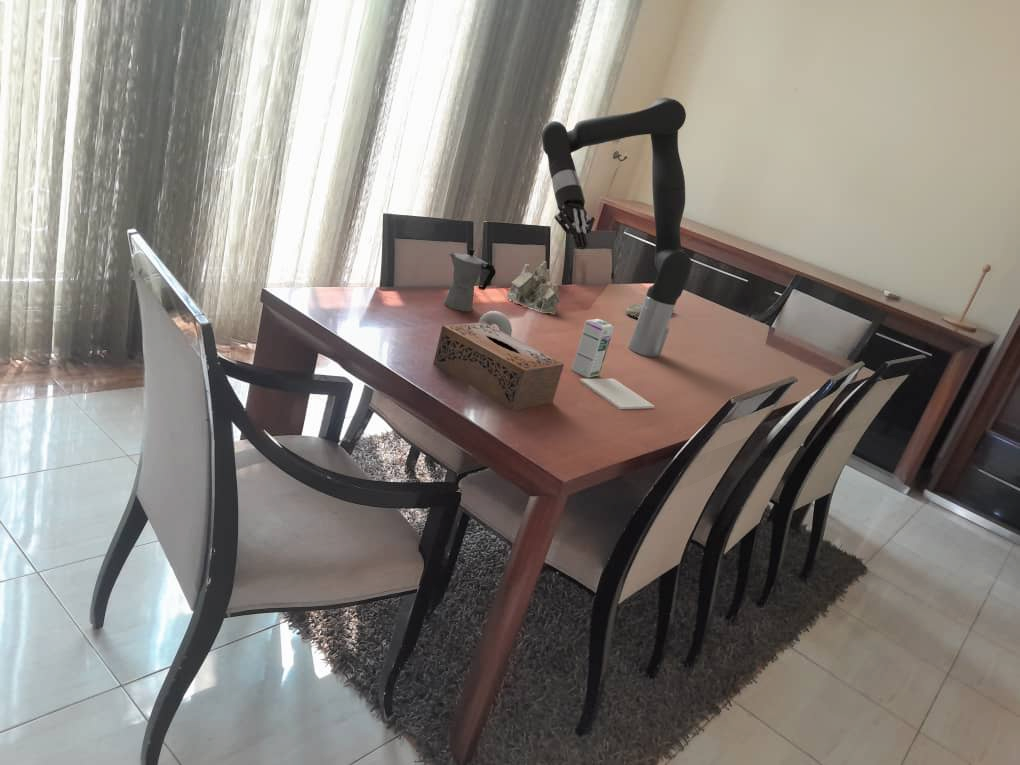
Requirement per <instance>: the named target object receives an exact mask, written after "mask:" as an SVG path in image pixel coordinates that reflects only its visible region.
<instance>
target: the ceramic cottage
mask: <svg viewBox="0 0 1020 765" xmlns="http://www.w3.org/2000/svg"><path fill="white" fill-rule="evenodd" d="M547 268H548V267H547V261H545V260H543V262H542V263H541V264H540V265H539V266H537V267H536V269H535V270H534V272H533V274H532V273H531V272H530V269H531V265H530V264H527V263H525V264H524V266H523V268H522V271H521V272H520V274H519V275H518V276H517V277H516V278H515V279H514V280H513V281H511V282H510V283H511V284H512V285H511V286H510V289H509V290H508V292H506V295H507V297H508V298H509V299H511V300H512V301H515V302H517V303H520V304H523V305H525V306H528V307H530V308H533V309H536V310H539V311H542V312H552V313H556V314H557V310H556V309H557V306H558V304H559V303H560V302H561V301H560V296H559V286H558V285H557V283H552V282H551V275H550V274H551V273H550V269H547Z"/></svg>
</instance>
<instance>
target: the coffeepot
mask: <svg viewBox="0 0 1020 765" xmlns="http://www.w3.org/2000/svg"><path fill="white" fill-rule="evenodd" d="M468 251H469V254H463V253H456V252H452V253H451V252H450V253H449V254H448V255H449V256H450V257H451V261H452V265H453V274H452V278H453V279H452V283H451V285H450V288H449V290H448V291H447V292H448V293H447V294H446V297H445V300H444V303H443V304H444V305H445V306H446V307H447V306H448V308H449V307H450V309H452V310H455V311H458V310H460V311H459V312H464V311H469V312H472V311H473V304H474V294H475V286H476V284H477V281H478V279H479V277H480V275H481V272H482V270H488V271H489V273H488V275H487V277H486V279H485V280H484V281H483V284H482V285H478V287H477V288H478V290H481V291H485V290H486V289H487V287H488V286H489V284H491V282H492V280H493V278H494V277H495V275H496V273H497V272H496V269H495V265H494V264H492V263H488V262H486V261H484V260H482V259H481V258H478V257H477V256H474V253H475V249H473V248H469V250H468Z"/></svg>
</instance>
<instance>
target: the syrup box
mask: <svg viewBox="0 0 1020 765" xmlns="http://www.w3.org/2000/svg"><path fill="white" fill-rule="evenodd" d="M614 329H615V326H614V325H613V324H611V323H610V322H607V321H606V320H603V319H600V318H595V319H587V320H585V322H584V326H583V329H582V333H581V336H580V340H579V342H578V347H577V349H576V350H577V351H576V354H575V357H574V360H573V364H572V368H571V370H572V371H573V372H575V373H576V374H579V375H581V376H583V377H585V378H586V379H591V378H593V377H598V376H600V374H601V371H602V368H603V366H604V365H603V364H604V362H605V357H606V355H607V353H608V352H607V351H608V349H609V345H610V341H611V340H612V335H613V332H614Z"/></svg>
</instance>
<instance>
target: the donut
mask: <svg viewBox="0 0 1020 765" xmlns="http://www.w3.org/2000/svg"><path fill="white" fill-rule="evenodd" d="M478 322H485V323H486V324H488V325H490V326H492V325H493V324H494V325H496V326H497V329H498V330H500V331H502V332H504V333H506V334H508V335H509V336H511V337H512V331H513V330H512V324H511V322H510V320H509V318H508V317H507V316H506V315H505V314H504V313H502V312H501V311H497V310H490V311H488V312H485V313H484V314H482V316H481V317H480V318H479V320H478Z"/></svg>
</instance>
